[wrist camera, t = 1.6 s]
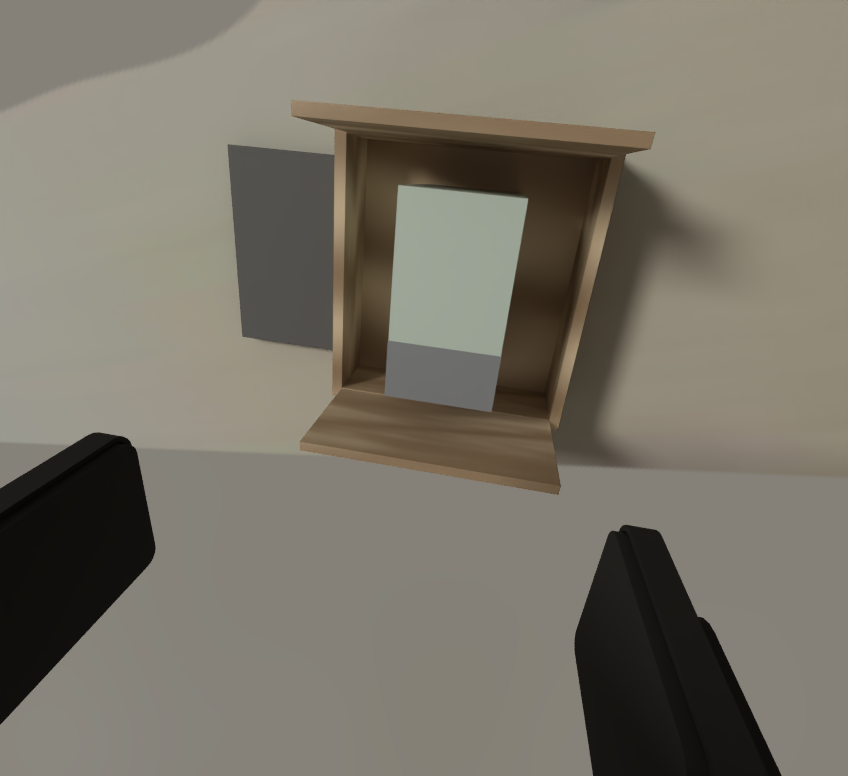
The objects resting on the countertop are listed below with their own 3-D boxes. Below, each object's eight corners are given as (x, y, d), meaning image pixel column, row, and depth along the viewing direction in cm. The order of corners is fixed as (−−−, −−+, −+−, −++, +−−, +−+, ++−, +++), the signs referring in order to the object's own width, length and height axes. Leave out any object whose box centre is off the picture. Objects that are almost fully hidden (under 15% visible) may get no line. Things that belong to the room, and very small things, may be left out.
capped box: (426, 183, 27) (397, 184, 20) (522, 193, 26) (528, 198, 19) (412, 345, 31) (384, 395, 24) (495, 357, 31) (491, 412, 23)
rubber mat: (236, 145, 28) (227, 144, 27) (346, 156, 28) (341, 155, 27) (249, 332, 33) (242, 336, 33) (343, 346, 33) (338, 350, 32)
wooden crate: (360, 127, 27) (275, 97, 17) (608, 150, 25) (674, 132, 15) (353, 368, 33) (288, 449, 23) (550, 398, 32) (571, 497, 22)
